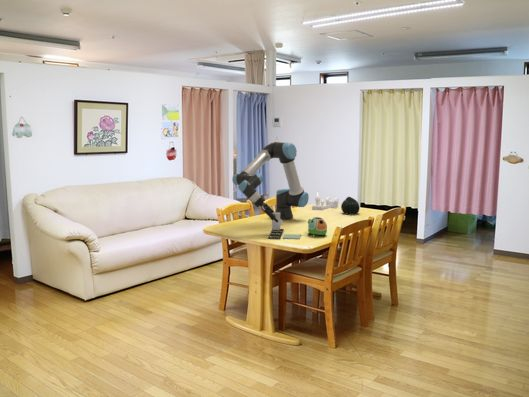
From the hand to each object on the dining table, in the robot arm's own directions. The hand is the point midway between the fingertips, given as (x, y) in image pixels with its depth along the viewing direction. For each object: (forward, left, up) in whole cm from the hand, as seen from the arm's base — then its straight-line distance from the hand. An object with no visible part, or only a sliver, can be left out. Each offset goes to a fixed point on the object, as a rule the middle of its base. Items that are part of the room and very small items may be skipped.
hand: (281, 224), depth 329 cm
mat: (+9, +1, -7) cm, 12 cm away
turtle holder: (+15, +18, -8) cm, 25 cm away
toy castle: (-49, +101, -8) cm, 112 cm away
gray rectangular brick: (-3, -2, -4) cm, 5 cm away
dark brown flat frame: (-3, -2, -7) cm, 8 cm away
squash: (-19, +98, -8) cm, 100 cm away
